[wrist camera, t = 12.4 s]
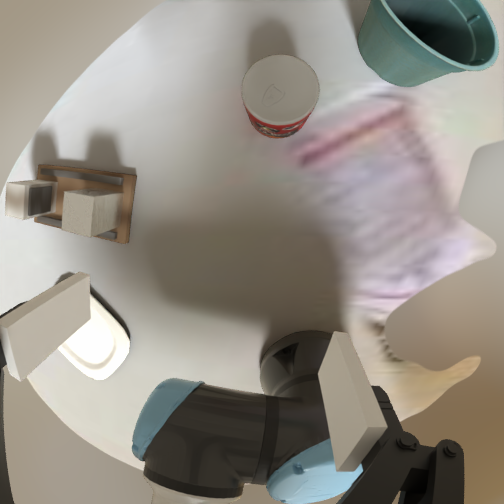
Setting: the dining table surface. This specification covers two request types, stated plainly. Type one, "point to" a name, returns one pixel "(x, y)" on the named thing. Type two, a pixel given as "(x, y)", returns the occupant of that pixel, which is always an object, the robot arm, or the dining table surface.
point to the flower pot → (427, 39)
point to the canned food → (279, 94)
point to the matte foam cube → (91, 211)
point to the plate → (97, 343)
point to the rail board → (52, 196)
